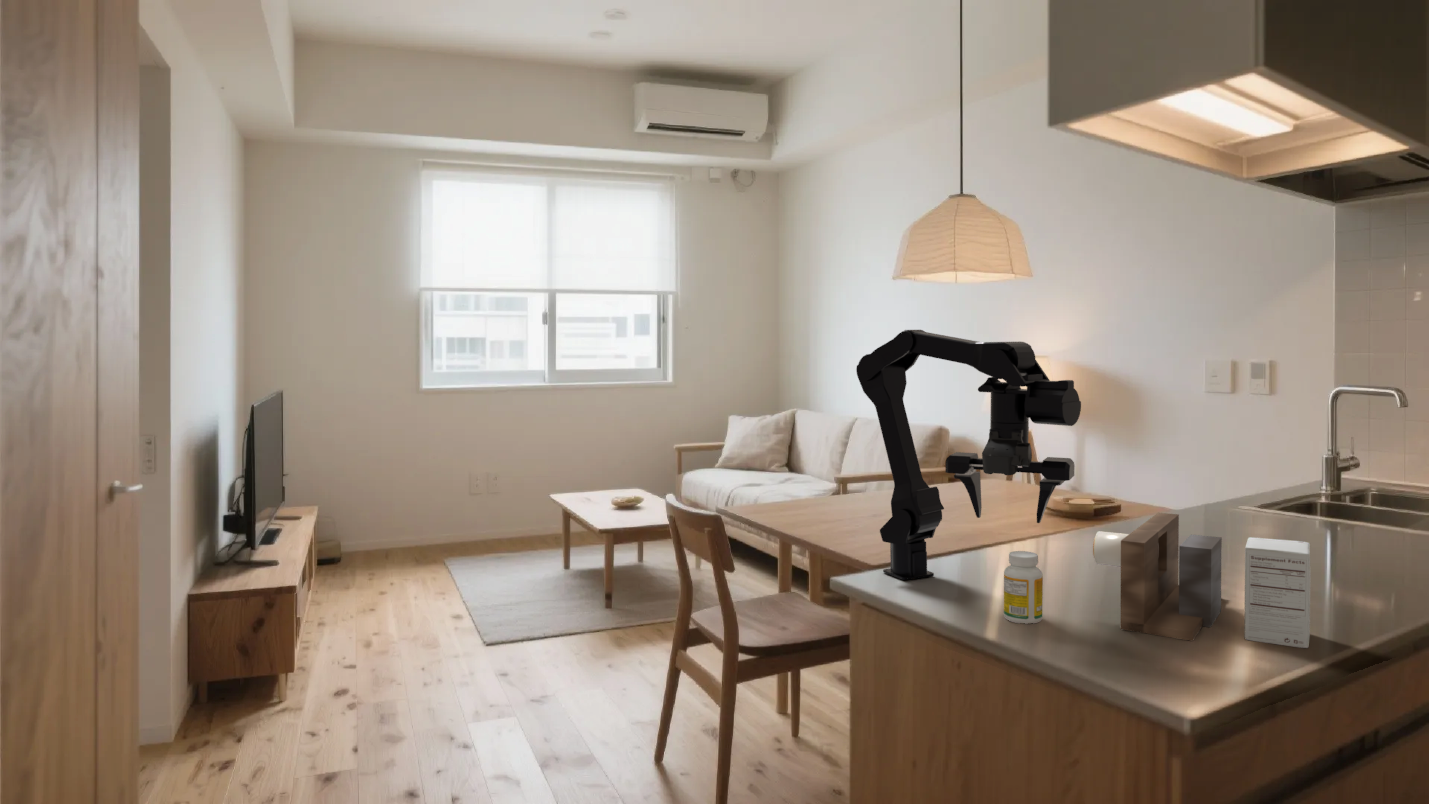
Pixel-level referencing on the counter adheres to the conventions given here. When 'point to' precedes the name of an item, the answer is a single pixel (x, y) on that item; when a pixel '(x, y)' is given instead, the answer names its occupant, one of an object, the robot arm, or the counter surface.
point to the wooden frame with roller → (1169, 580)
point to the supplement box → (1277, 591)
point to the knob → (1108, 548)
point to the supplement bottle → (1023, 588)
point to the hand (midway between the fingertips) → (1008, 520)
